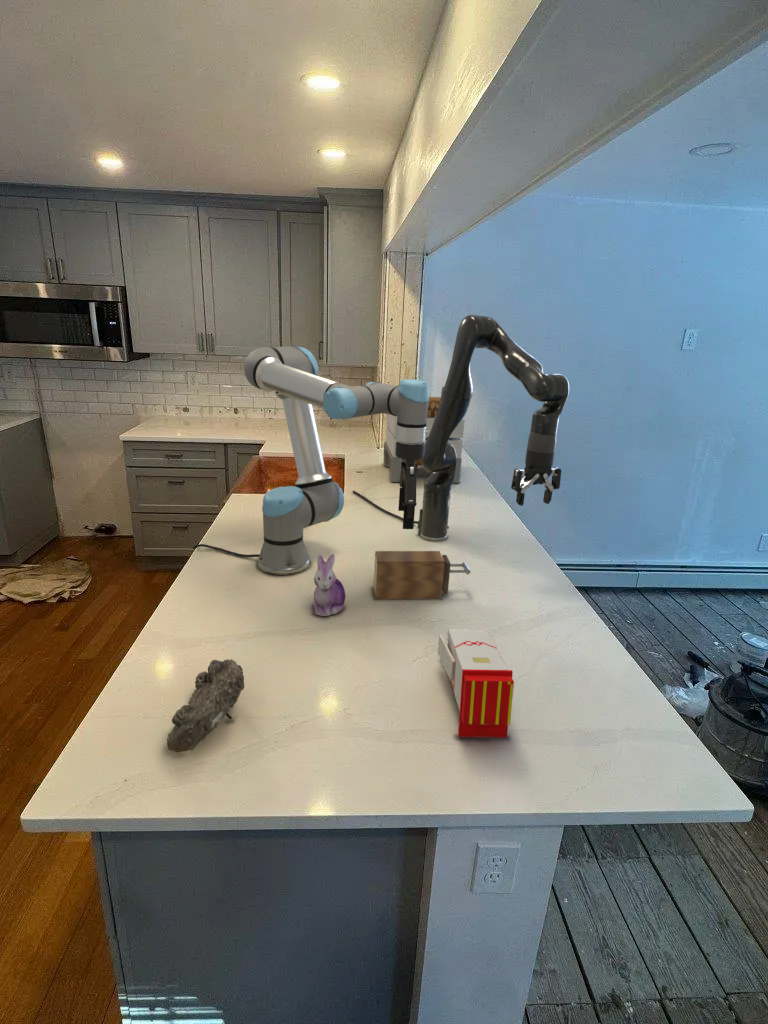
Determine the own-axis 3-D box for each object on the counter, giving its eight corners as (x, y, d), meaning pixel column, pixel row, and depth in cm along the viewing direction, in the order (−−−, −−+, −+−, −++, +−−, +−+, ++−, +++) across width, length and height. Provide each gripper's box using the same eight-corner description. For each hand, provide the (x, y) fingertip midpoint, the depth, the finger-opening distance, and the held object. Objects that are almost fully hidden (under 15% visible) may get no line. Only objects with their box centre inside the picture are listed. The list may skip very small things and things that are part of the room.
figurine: (319, 621, 142) (319, 567, 137) (305, 602, 151) (304, 551, 146) (353, 613, 146) (354, 560, 141) (337, 596, 155) (338, 545, 150)
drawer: (463, 585, 163) (467, 554, 159) (468, 594, 158) (471, 563, 154) (384, 585, 160) (385, 554, 157) (386, 595, 155) (388, 563, 152)
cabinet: (436, 587, 163) (439, 550, 159) (441, 598, 156) (444, 561, 153) (373, 587, 161) (375, 551, 157) (375, 599, 154) (377, 561, 150)
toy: (488, 613, 130) (523, 677, 101) (484, 667, 133) (517, 744, 104) (435, 612, 130) (455, 676, 101) (432, 666, 133) (451, 743, 103)
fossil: (192, 660, 117) (244, 628, 112) (224, 691, 120) (276, 661, 115) (142, 746, 98) (202, 712, 93) (182, 779, 101) (242, 748, 96)
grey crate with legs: (382, 463, 289) (386, 382, 275) (445, 464, 293) (451, 384, 279) (390, 482, 257) (394, 392, 243) (460, 483, 261) (468, 394, 247)
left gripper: (431, 454, 134) (425, 537, 141) (419, 432, 157) (414, 504, 164) (400, 453, 133) (395, 536, 141) (392, 431, 157) (388, 503, 164)
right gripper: (555, 444, 162) (547, 498, 167) (511, 446, 157) (504, 501, 163) (571, 450, 155) (562, 506, 160) (525, 452, 151) (517, 510, 156)
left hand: (405, 519), depth 152 cm, fingers open, 13 cm apart
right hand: (533, 503), depth 162 cm, fingers open, 8 cm apart
